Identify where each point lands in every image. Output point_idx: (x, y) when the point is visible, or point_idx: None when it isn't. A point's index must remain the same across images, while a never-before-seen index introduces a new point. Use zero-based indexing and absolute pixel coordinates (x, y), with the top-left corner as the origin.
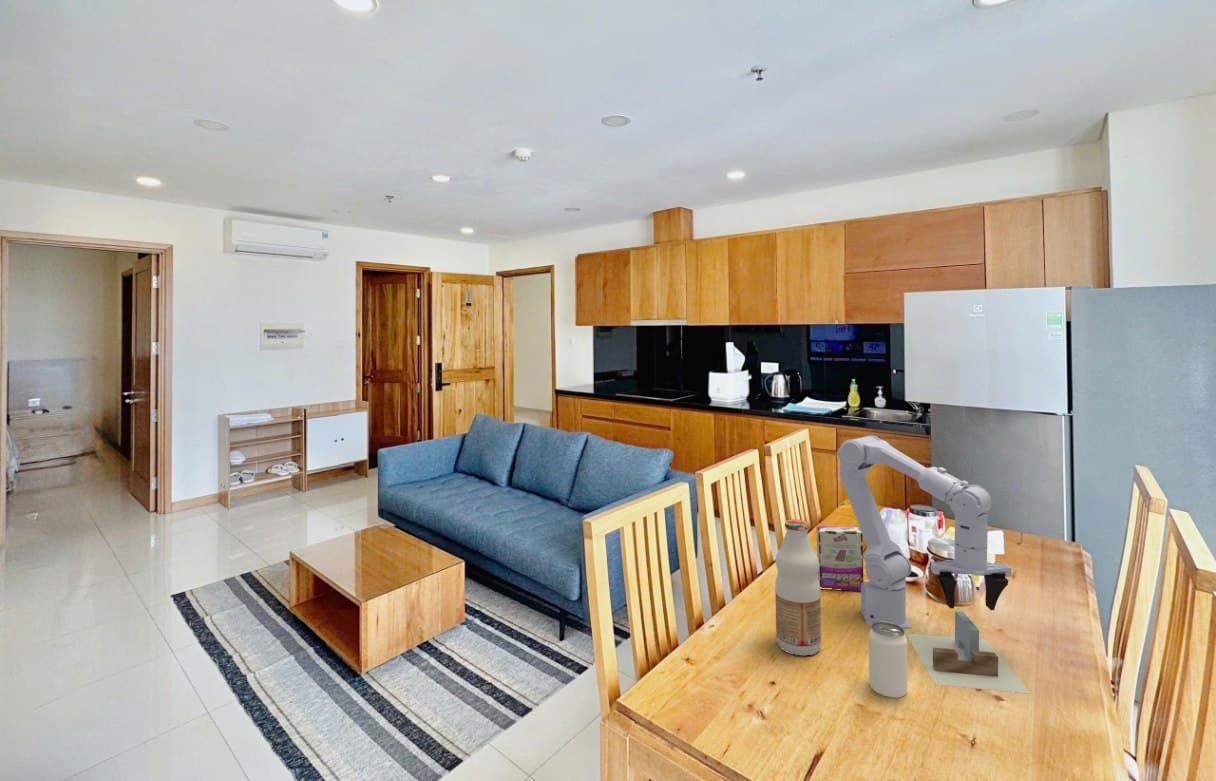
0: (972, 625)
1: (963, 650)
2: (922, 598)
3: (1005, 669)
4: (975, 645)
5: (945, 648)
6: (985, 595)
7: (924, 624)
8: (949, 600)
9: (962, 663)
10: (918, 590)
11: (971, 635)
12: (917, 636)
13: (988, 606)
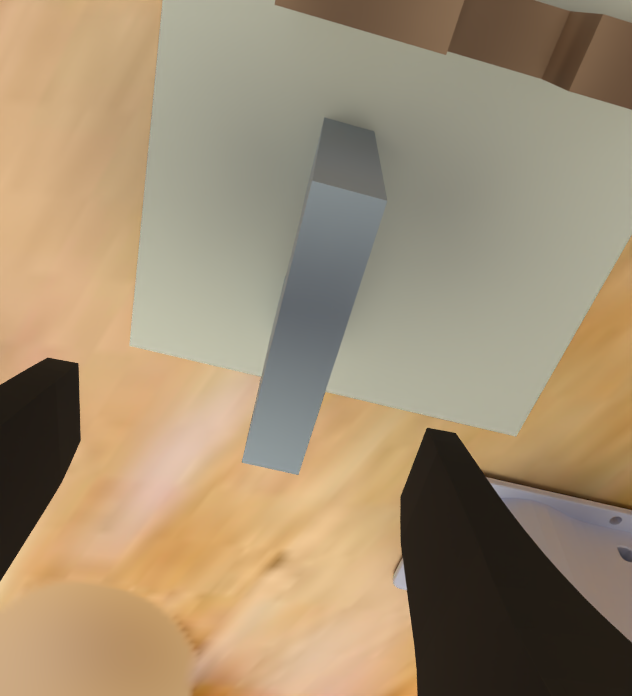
0: (313, 268)
1: None
2: (220, 649)
3: (196, 25)
4: (342, 152)
5: (412, 289)
6: (33, 527)
7: (349, 496)
8: (493, 495)
9: (524, 22)
10: (201, 689)
11: (373, 181)
12: (477, 407)
13: (72, 411)
